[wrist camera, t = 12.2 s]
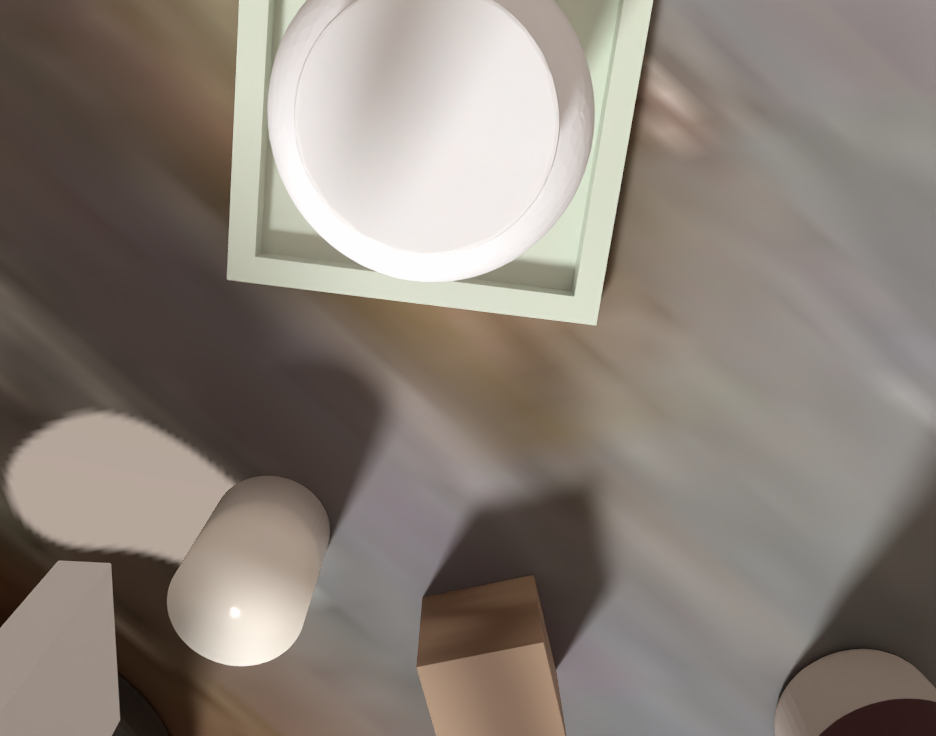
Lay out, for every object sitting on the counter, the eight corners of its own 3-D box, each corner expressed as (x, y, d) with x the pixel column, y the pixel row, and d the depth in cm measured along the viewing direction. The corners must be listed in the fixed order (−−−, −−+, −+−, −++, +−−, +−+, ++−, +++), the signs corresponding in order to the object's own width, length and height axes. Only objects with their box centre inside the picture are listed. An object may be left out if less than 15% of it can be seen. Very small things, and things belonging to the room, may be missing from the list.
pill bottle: (286, 84, 31) (143, 68, 17) (469, -55, 30) (472, -192, 16) (416, 267, 33) (381, 383, 19) (594, 144, 32) (691, 175, 18)
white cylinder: (211, 573, 38) (165, 658, 32) (215, 469, 36) (168, 538, 30) (325, 586, 38) (300, 672, 32) (334, 482, 36) (310, 554, 31)
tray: (236, 272, 34) (226, 279, 32) (255, -128, 30) (245, -140, 28) (590, 316, 34) (596, 325, 33) (657, -72, 30) (667, -80, 29)
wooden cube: (448, 689, 40) (446, 770, 35) (422, 596, 38) (416, 667, 33) (555, 668, 39) (568, 747, 34) (533, 573, 38) (543, 642, 33)
